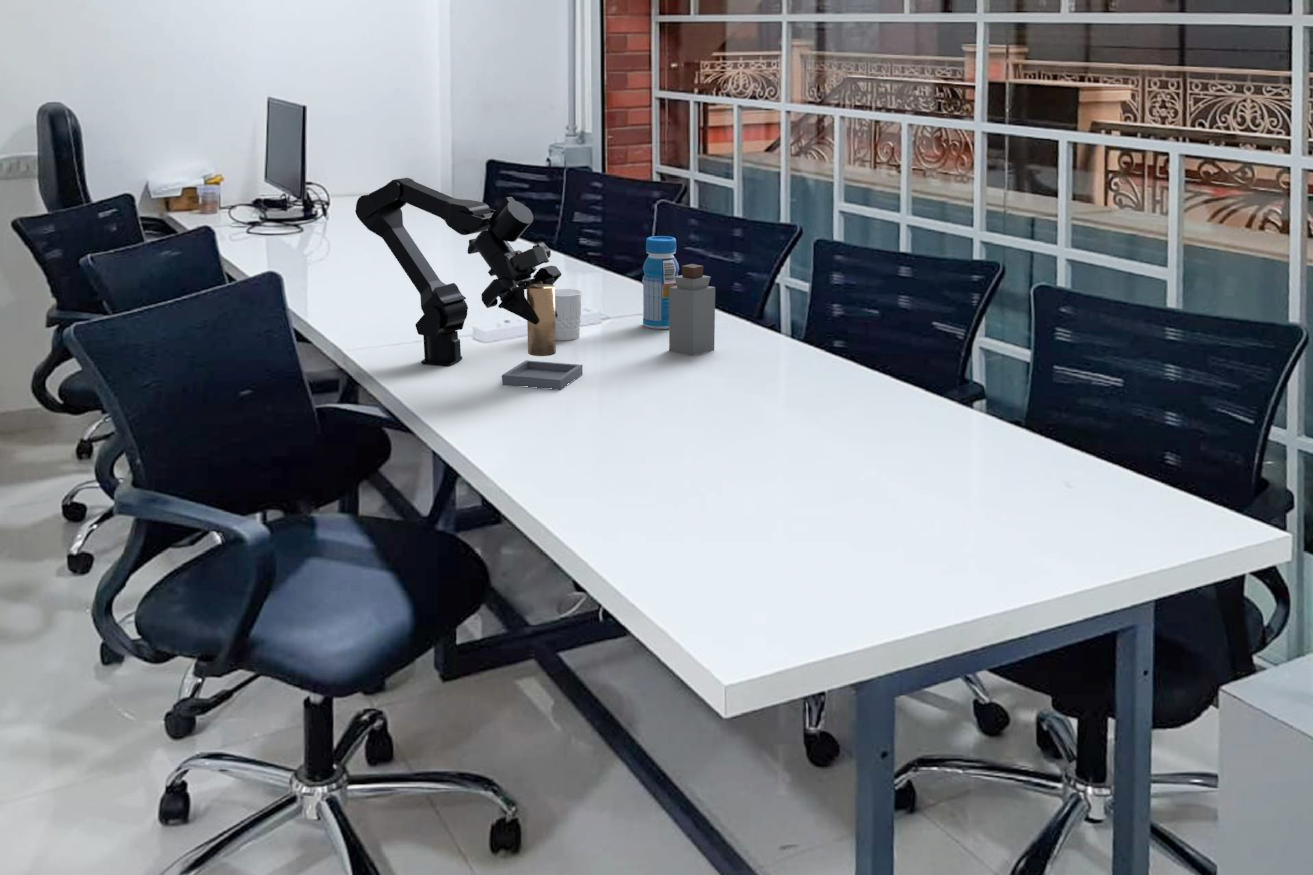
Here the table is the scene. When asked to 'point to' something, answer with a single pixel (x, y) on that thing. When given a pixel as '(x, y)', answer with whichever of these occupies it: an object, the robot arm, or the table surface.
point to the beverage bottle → (658, 280)
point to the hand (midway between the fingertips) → (546, 320)
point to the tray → (542, 374)
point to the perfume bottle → (692, 312)
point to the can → (542, 320)
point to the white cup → (567, 313)
